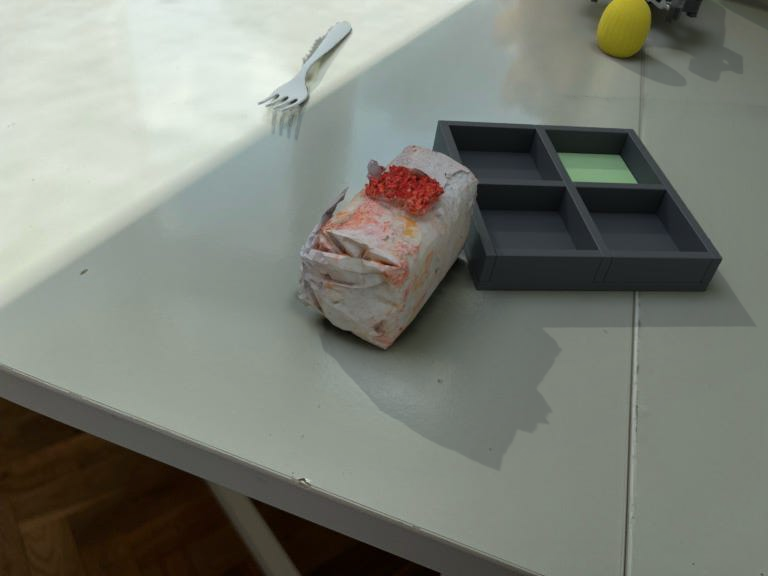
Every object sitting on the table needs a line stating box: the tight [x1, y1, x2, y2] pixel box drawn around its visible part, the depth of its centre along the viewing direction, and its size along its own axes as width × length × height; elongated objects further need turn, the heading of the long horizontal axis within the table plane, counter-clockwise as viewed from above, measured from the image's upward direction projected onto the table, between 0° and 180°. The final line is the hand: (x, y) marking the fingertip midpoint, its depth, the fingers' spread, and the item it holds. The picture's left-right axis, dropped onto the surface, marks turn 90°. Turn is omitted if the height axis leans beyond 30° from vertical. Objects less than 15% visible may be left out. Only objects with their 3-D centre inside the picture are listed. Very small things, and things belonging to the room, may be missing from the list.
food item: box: [297, 144, 479, 350], centre depth 53 cm, size 14×8×10 cm, turn 153°
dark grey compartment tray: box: [431, 119, 723, 292], centre depth 64 cm, size 18×18×3 cm
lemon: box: [596, 0, 652, 59], centre depth 88 cm, size 6×6×8 cm
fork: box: [257, 22, 352, 112], centre depth 79 cm, size 3×24×2 cm, turn 165°
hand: (633, 3), depth 88 cm, fingers open, 8 cm apart
